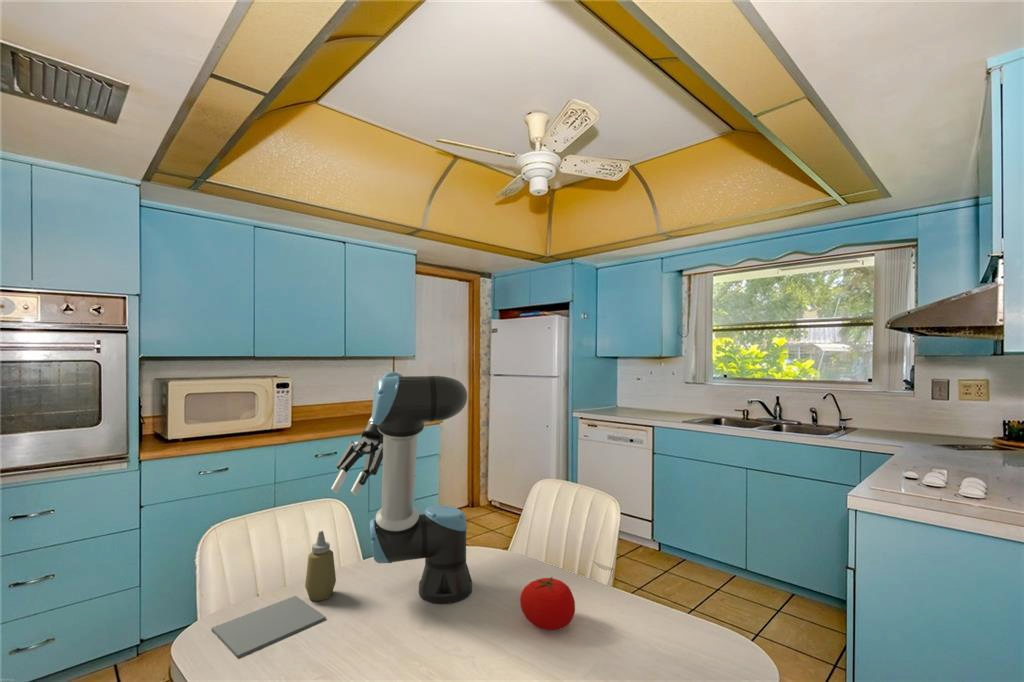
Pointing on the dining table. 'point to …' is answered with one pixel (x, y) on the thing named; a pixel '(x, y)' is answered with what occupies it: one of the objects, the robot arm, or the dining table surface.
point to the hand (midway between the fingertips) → (343, 492)
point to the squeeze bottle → (320, 570)
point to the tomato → (548, 603)
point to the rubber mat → (266, 625)
